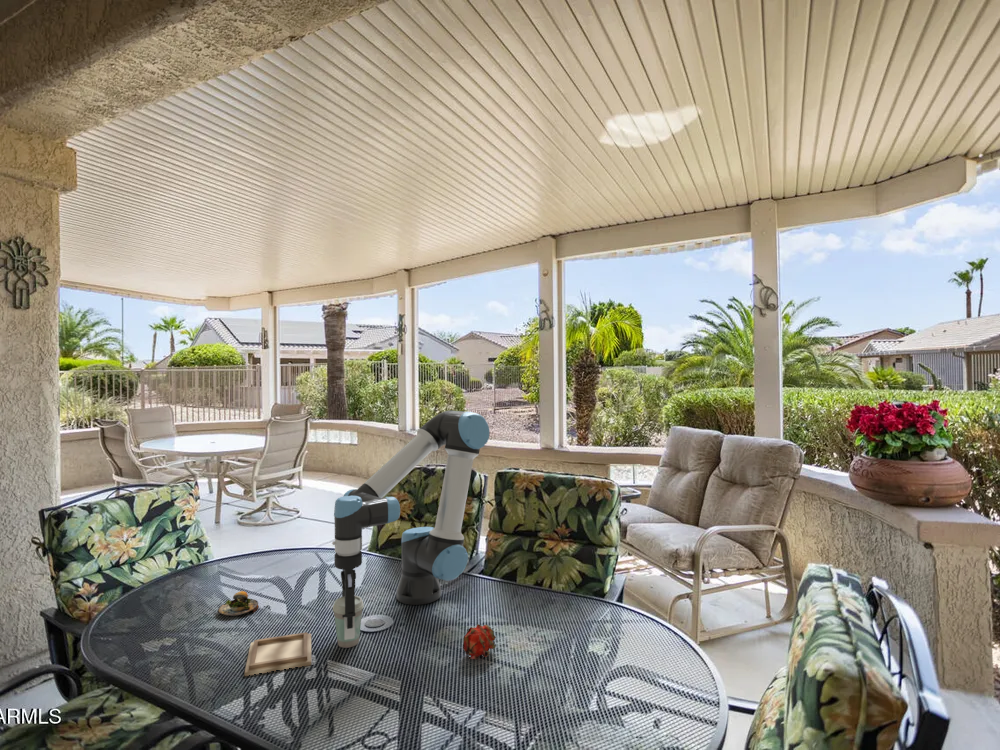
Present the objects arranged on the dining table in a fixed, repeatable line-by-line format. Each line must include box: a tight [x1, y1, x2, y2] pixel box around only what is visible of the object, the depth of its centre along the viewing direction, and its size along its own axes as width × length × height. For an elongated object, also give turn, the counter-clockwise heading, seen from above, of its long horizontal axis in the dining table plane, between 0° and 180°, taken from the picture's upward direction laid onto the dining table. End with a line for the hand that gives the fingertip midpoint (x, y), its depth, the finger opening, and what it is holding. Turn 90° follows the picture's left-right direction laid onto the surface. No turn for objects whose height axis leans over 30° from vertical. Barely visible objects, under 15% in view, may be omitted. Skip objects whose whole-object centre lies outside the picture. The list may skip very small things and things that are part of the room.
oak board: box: [244, 632, 312, 677], centre depth 148 cm, size 16×16×2 cm
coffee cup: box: [332, 595, 365, 649], centre depth 155 cm, size 8×8×12 cm
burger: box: [217, 586, 260, 616], centre depth 175 cm, size 12×12×8 cm
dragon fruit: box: [462, 623, 497, 660], centre depth 148 cm, size 8×8×12 cm
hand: (348, 630), depth 155 cm, fingers open, 9 cm apart
